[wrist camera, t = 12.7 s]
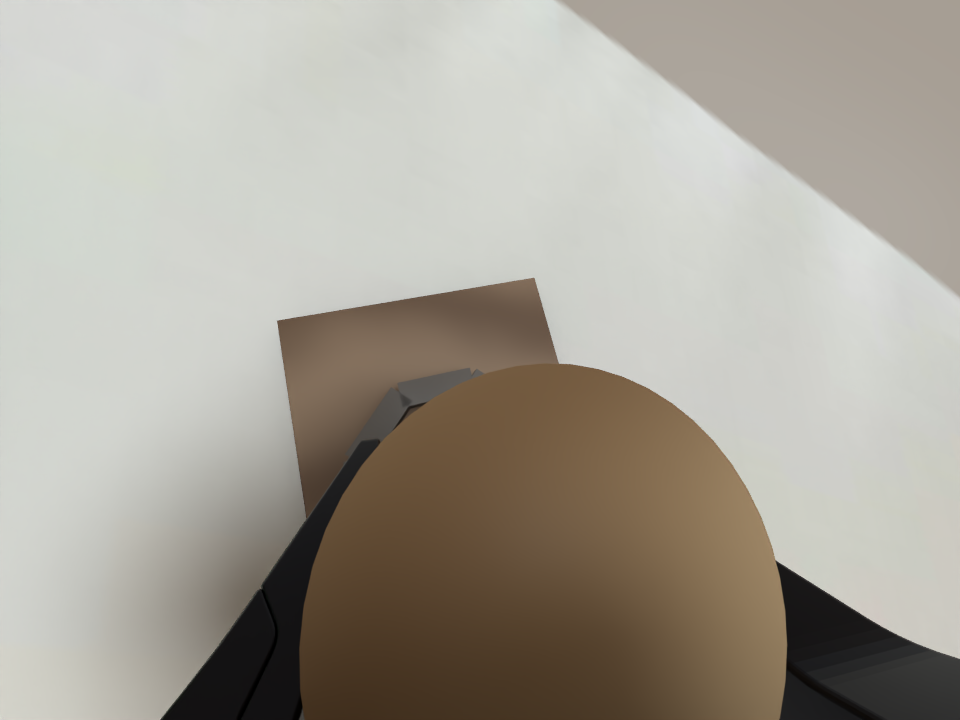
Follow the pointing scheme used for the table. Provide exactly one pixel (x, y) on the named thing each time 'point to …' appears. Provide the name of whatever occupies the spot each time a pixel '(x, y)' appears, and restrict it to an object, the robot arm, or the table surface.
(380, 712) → the light brown tall cylinder
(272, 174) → the table surface
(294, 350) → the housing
